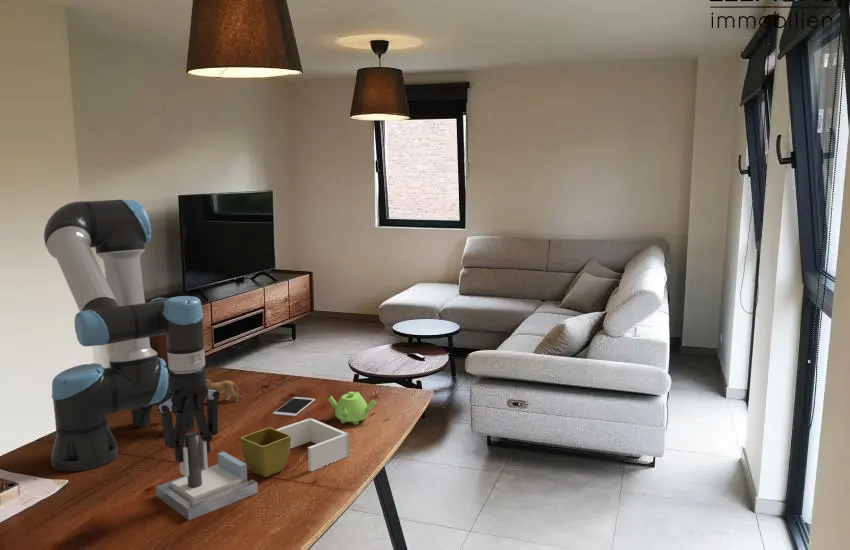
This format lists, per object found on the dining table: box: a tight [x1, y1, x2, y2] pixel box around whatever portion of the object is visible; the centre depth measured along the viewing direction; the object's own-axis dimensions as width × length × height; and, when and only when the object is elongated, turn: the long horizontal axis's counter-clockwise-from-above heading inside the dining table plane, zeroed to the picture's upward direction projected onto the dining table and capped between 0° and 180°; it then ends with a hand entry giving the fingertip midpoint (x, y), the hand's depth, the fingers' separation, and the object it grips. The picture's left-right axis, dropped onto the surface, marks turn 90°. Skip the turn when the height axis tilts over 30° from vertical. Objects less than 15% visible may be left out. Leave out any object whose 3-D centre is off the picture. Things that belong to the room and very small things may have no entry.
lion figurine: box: [204, 378, 243, 404], centre depth 210 cm, size 15×5×9 cm, turn 121°
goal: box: [275, 417, 351, 472], centre depth 172 cm, size 12×16×6 cm
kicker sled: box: [172, 431, 248, 503], centre depth 151 cm, size 13×10×15 cm
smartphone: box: [272, 396, 316, 417], centre depth 207 cm, size 8×1×15 cm
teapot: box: [327, 391, 377, 426], centre depth 194 cm, size 11×12×8 cm
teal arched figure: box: [130, 371, 196, 433], centre depth 190 cm, size 20×6×20 cm, turn 76°
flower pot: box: [239, 426, 291, 478], centre depth 162 cm, size 9×9×9 cm
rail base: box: [155, 463, 259, 521], centre depth 152 cm, size 16×15×2 cm
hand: (194, 470), depth 149 cm, fingers open, 4 cm apart
